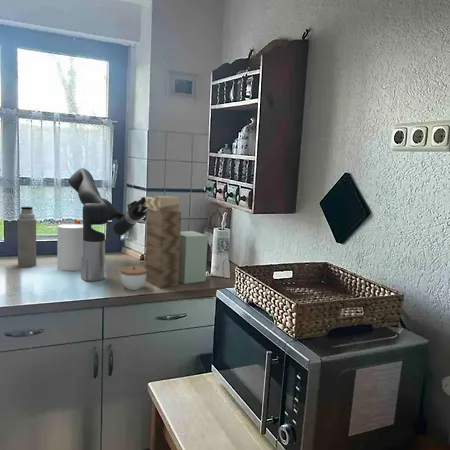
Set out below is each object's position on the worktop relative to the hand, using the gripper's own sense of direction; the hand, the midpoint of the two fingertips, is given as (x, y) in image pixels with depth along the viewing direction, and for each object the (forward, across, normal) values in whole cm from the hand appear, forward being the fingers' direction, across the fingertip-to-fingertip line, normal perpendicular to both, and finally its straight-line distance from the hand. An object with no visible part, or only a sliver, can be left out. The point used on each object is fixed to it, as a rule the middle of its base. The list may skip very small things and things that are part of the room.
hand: (149, 199), depth 204 cm
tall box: (-5, 0, +38) cm, 38 cm away
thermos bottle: (-51, -44, +12) cm, 68 cm away
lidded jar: (-3, -14, +39) cm, 42 cm away
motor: (-55, -18, +9) cm, 59 cm away
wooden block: (+5, 0, +7) cm, 8 cm away
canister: (-42, -26, +17) cm, 52 cm away
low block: (-6, +14, +38) cm, 40 cm away
